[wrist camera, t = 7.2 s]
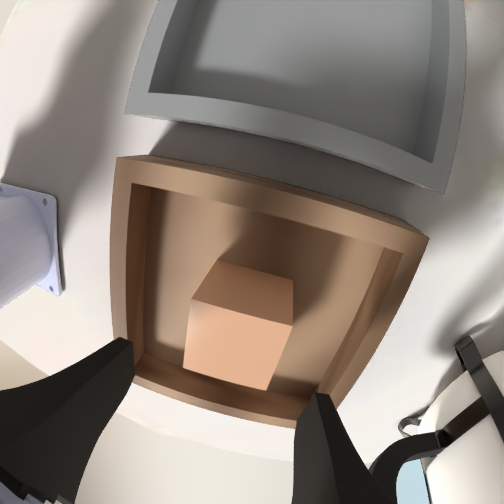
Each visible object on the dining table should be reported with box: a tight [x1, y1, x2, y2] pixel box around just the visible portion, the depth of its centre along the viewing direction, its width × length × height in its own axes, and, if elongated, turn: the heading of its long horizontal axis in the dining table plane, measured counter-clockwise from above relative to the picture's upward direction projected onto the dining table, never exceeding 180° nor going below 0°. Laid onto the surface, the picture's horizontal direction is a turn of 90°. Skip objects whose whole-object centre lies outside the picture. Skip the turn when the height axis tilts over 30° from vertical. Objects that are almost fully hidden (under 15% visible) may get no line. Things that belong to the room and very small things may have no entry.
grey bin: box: [124, 0, 466, 194], centre depth 8 cm, size 14×14×3 cm
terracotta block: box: [183, 260, 293, 391], centre depth 13 cm, size 4×4×4 cm
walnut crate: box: [110, 155, 429, 429], centre depth 14 cm, size 14×14×3 cm
